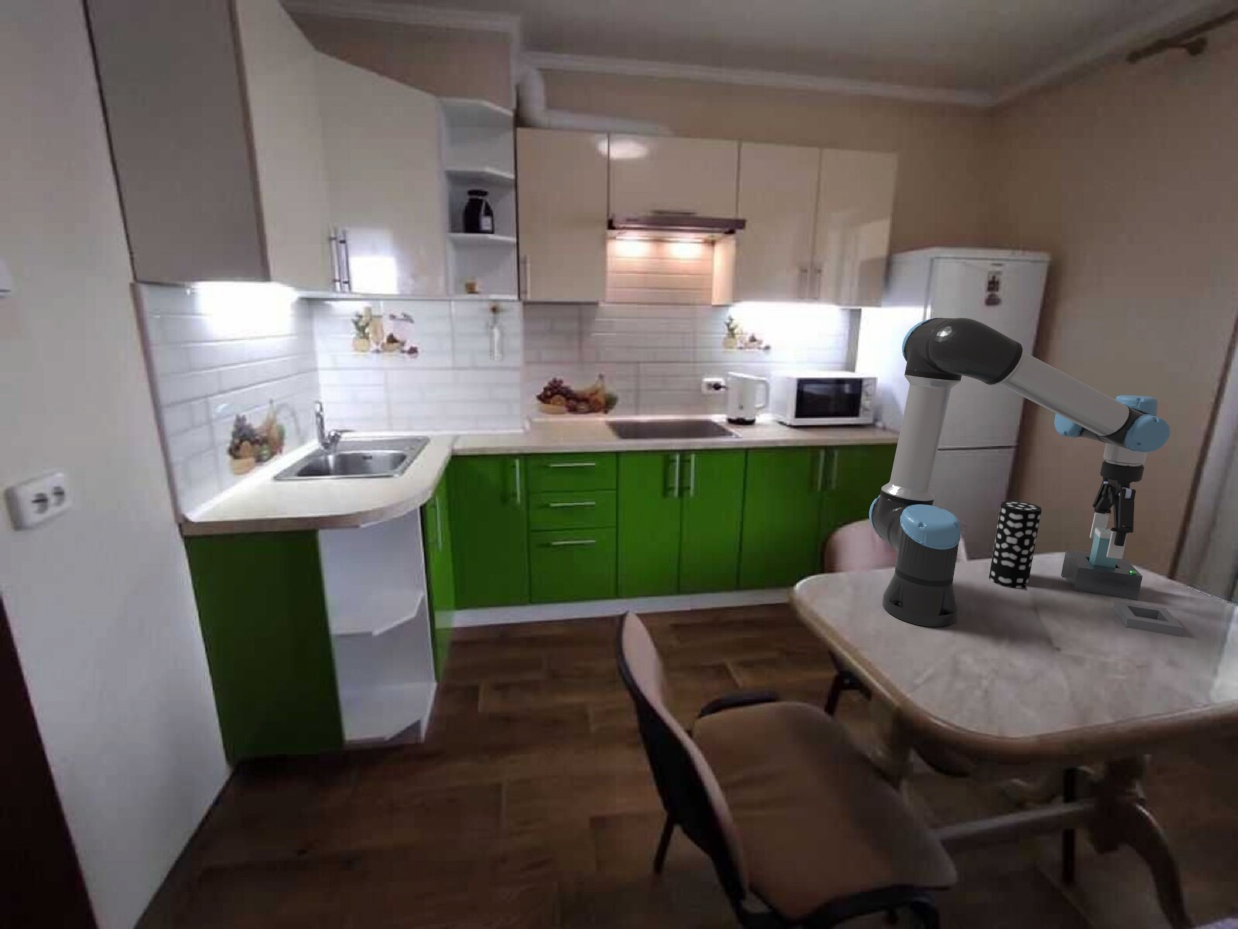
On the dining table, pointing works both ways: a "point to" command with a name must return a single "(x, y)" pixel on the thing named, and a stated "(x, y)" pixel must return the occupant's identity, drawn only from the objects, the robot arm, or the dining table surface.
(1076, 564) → the port
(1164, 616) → the square frame socket
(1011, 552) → the spotted tube
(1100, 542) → the plug
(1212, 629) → the dining table surface
